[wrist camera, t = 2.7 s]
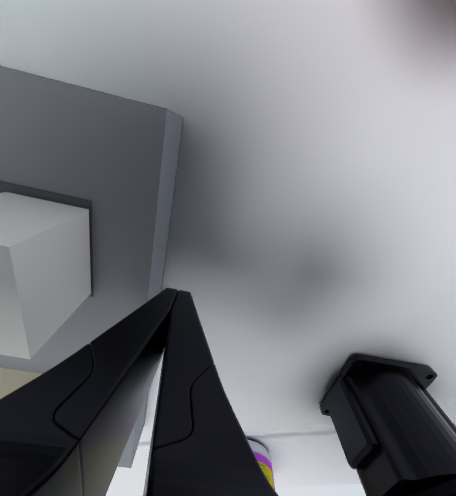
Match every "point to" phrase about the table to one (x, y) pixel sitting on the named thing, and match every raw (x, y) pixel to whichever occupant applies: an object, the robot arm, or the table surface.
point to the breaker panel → (94, 196)
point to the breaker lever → (40, 270)
